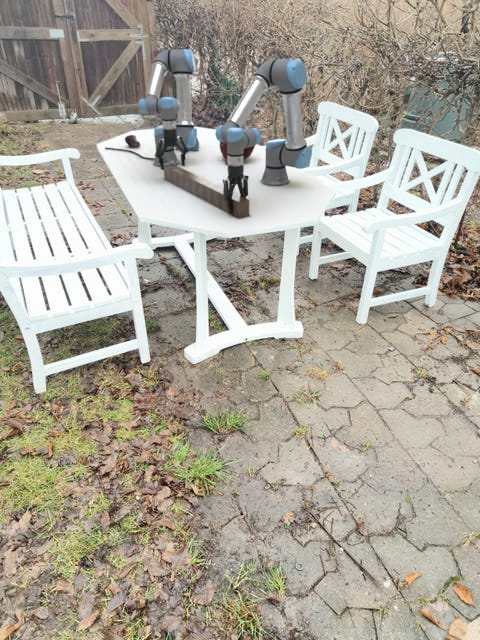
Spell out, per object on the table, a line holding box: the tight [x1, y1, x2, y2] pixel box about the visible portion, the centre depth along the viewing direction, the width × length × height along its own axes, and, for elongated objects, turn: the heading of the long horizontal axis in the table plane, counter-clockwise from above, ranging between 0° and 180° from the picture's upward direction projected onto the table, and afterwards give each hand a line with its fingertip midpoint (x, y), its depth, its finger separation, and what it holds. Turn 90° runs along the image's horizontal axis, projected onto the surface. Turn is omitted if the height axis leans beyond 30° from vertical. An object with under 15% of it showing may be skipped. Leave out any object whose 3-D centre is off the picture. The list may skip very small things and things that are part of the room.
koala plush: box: [174, 138, 200, 152], centre depth 321 cm, size 17×18×20 cm
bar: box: [163, 164, 250, 219], centre depth 241 cm, size 77×6×8 cm, turn 35°
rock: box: [124, 134, 141, 148], centre depth 329 cm, size 12×9×10 cm
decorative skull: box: [219, 127, 256, 166], centre depth 295 cm, size 21×24×25 cm
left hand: (173, 167), depth 260 cm, fingers open, 13 cm apart
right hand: (236, 212), depth 221 cm, fingers closed on bar, 6 cm apart
